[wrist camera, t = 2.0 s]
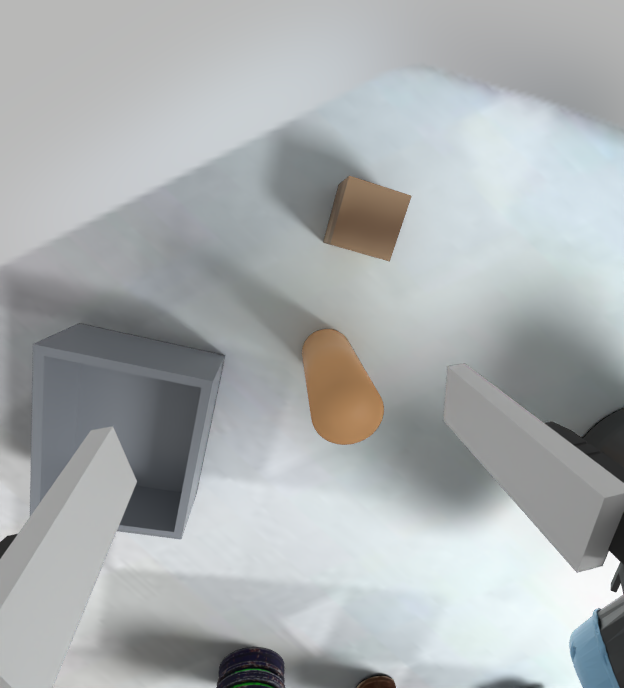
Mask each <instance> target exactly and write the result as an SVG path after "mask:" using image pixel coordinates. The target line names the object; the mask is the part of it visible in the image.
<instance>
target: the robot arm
mask: <svg viewBox="0 0 624 688" xmlns="http://www.w3.org/2000/svg"><path fill="white" fill-rule="evenodd" d="M443 421H444V422H445V423H446V424H447V425H448V427H449V428H450V429H451V430H452V431H453V432H454V433H455V435H456V436H457V437H458V438H459V439H460V440H461V441H462V443H463V444H464V445H465V446H466V447H467V448H468V449H469V450H470V452H471V453H472V454H473V455H474V456H475V457H476V458H477V460H478V461H479V462H480V463H481V464H482V465H483V466H484V468H485V469H486V470H487V471H488V472H489V473H490V474H491V476H492V477H493V478H494V479H495V480H496V481H497V482H498V484H499V485H500V486H501V487H502V488H503V489H504V490H505V491H506V493H507V494H508V495H509V496H510V497H511V498H512V499H513V501H514V502H515V503H516V504H517V505H518V506H519V507H520V509H521V510H522V511H523V512H524V513H525V514H526V515H527V517H528V518H529V519H530V520H531V521H532V522H533V523H534V524H535V526H536V527H537V528H538V529H539V530H540V531H541V532H542V534H543V535H544V536H545V537H546V538H547V539H548V540H549V542H550V543H551V544H552V545H553V546H554V547H555V548H556V550H557V551H558V552H559V553H560V554H561V555H562V556H563V557H564V559H565V560H566V561H567V562H568V563H569V564H570V565H571V567H572V568H573V569H574V570H575V571H576V572H577V573H578V572H581V571H585V570H589V569H593V568H596V567H600V566H603V564H604V561H605V559H606V556H607V554H608V552H609V551H610V552H611V553H612V554H613V555H614V556H615V557H616V558H617V559H618V560H619V561H620V564H619V567H618V569H617V571H616V573H615V575H614V578H613V580H612V582H611V591H614V592H617V590H618V588H619V585H620V583H621V585H622V589H623V595H622V596H620V597H619V598H618V599H616V600H615V601H613V602H612V603H610V604H609V605H607V606H606V607H604V608H603V609H600V608H598V609H596V610H594V612H593V616H592V617H590V618H589V619H588V620H587V621H585V622H584V623H583V624H582V625H580V626H579V627H578V628H577V629H575V630H574V631H573V633H572V634H571V637H570V642H569V647H570V654H571V658H572V661H573V664H574V668H575V670H576V673H577V675H578V678H579V680H580V682H581V685H582V687H583V688H624V409H621V410H619V411H617V412H615V413H613V414H611V415H609V416H608V417H606V418H605V419H603V420H602V421H600V422H599V423H598V424H597V425H595V426H594V427H593V428H592V429H591V430H590V431H589V432H588V433H587V434H586V435H585V437H584V438H583V439H582V438H581V437H580V436H578V435H577V434H575V433H574V432H573V431H571V430H569V429H567V428H565V427H563V426H560V425H558V424H556V423H554V422H548V423H543V422H542V421H541V420H539V419H538V418H537V417H535V416H534V415H533V414H531V413H530V412H529V411H527V410H526V409H525V408H523V407H522V406H521V405H519V404H518V403H517V402H516V401H514V400H513V399H512V398H510V397H509V396H508V395H506V394H505V393H504V392H502V391H501V390H500V389H498V388H497V387H496V386H494V385H493V384H492V383H490V382H489V381H488V380H486V379H485V378H484V377H482V376H481V375H480V374H478V373H477V372H476V371H474V370H473V369H472V368H470V367H469V366H468V365H466V364H465V363H463V364H457V365H451V366H447V377H446V390H445V403H444V416H443ZM136 483H137V480H136V478H135V476H134V473H133V471H132V469H131V467H130V464H129V462H128V460H127V457H126V455H125V453H124V451H123V448H122V446H121V444H120V441H119V439H118V437H117V435H116V432H115V430H114V428H113V426H112V427H107V428H101V429H96V430H91V431H90V432H89V434H88V435H87V437H86V438H85V439H84V441H83V442H82V444H81V445H80V447H79V448H78V449H77V451H76V452H75V454H74V455H73V456H72V458H71V459H70V461H69V462H68V464H67V465H66V466H65V468H64V469H63V471H62V472H61V474H60V475H59V476H58V478H57V479H56V481H55V482H54V483H53V485H52V486H51V488H50V489H49V491H48V492H47V493H46V495H45V496H44V498H43V499H42V501H41V502H40V503H39V505H38V506H37V508H36V509H35V510H34V512H33V513H32V515H31V516H30V518H29V519H28V520H27V522H26V523H25V525H24V526H23V528H22V529H21V530H20V532H19V533H18V534H15V535H10V536H7V537H6V538H4V539H3V540H2V541H1V542H0V688H53V686H54V683H55V681H56V678H57V676H58V673H59V671H60V669H61V666H62V664H63V661H64V659H65V656H66V654H67V651H68V649H69V647H70V644H71V642H72V639H73V637H74V634H75V632H76V629H77V627H78V625H79V622H80V620H81V617H82V615H83V612H84V610H85V607H86V605H87V603H88V600H89V598H90V595H91V593H92V590H93V588H94V585H95V583H96V581H97V578H98V576H99V573H100V571H101V568H102V566H103V563H104V561H105V559H106V556H107V554H108V551H109V549H110V546H111V544H112V541H113V539H114V537H115V534H116V532H117V529H118V527H119V524H120V522H121V520H122V517H123V515H124V512H125V510H126V507H127V505H128V502H129V500H130V498H131V495H132V493H133V490H134V488H135V485H136Z"/></svg>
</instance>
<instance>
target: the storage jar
mask: <svg viewBox="0 0 624 688" xmlns="http://www.w3.org/2000/svg"><path fill="white" fill-rule="evenodd" d="M216 688H285V685H284V661H283V659H282V658H281V656H280V655H279V654H277V653H276V652H274V651H272V650H269V649H266V648H258V647H251V648H245V649H240V650H238V651H235V652H233V653H231V654H230V655H228V656H227V657H226V658H225V659H224V660H223V661H222V663H221V664H220V668H219V679H218V682H217V687H216Z"/></svg>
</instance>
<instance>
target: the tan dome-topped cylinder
mask: <svg viewBox="0 0 624 688" xmlns="http://www.w3.org/2000/svg"><path fill="white" fill-rule="evenodd" d="M302 357H303V364H304V371H305V378H306V385H307V392H308V399H309V405H310V412H311V419H312V423H313V426H314V428H315V430H316V431H317V433H318V434H319V435H320V436H321V437H322V438H324V439H325V440H327V441H329V442H332V443H335V444H342V445H347V444H354V443H357V442H360V441H362V440H364V439H366V438H368V437H369V436H370V435H372V434H373V433H374V432H375V431H376V429H377V428H378V427H379V425H380V423H381V421H382V418H383V414H384V406H383V401H382V398H381V397H380V395H379V393H378V391H377V390H376V388H375V386H374V384H373V383H372V381H371V379H370V378H369V376H368V374H367V372H366V371H365V369H364V367H363V366H362V364H361V362H360V360H359V359H358V357H357V355H356V354H355V352H354V350H353V349H352V347H351V345H350V343H349V342H348V340H347V339H346V337H345V336H344V335H343V334H342V333H340V332H338V331H336V330H333V329H322V330H319V331H316V332H314V333H313V334H311V335H310V336H309V337H308V338H307V339H306V341H305V343H304V345H303V348H302Z"/></svg>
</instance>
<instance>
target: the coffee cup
mask: <svg viewBox="0 0 624 688" xmlns="http://www.w3.org/2000/svg"><path fill="white" fill-rule="evenodd" d="M356 688H396V686H395V682H394V680H393V679H391V678H389V677H387V676H375V677H371V678H368V679H366V680H364V681H363V682H361V683H360V684H359V685H358V686H357V687H356Z"/></svg>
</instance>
